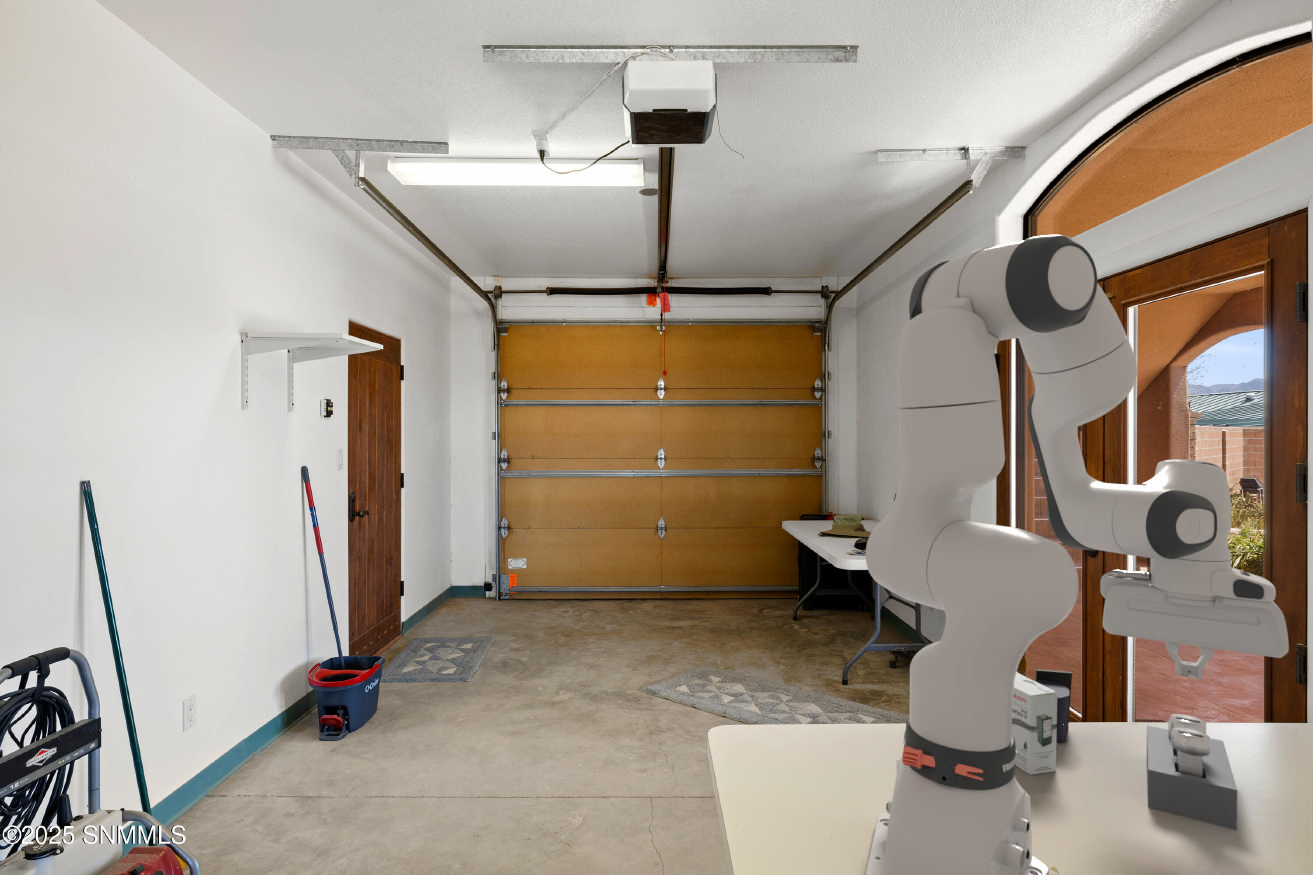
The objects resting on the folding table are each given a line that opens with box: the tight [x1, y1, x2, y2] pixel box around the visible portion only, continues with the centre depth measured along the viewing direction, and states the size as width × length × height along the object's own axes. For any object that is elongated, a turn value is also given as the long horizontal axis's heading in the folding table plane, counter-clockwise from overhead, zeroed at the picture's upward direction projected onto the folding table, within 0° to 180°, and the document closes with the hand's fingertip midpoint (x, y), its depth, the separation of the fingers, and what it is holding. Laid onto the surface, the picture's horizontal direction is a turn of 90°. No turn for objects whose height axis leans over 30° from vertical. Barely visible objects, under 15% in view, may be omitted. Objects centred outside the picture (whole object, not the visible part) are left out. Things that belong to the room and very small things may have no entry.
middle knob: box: [1169, 713, 1207, 757], centre depth 95 cm, size 4×4×5 cm
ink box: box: [1012, 672, 1057, 775], centre depth 104 cm, size 9×5×12 cm, turn 14°
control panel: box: [1146, 725, 1238, 831], centre depth 95 cm, size 17×9×5 cm, turn 145°
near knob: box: [1171, 728, 1211, 778], centre depth 90 cm, size 4×4×5 cm
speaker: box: [1034, 669, 1073, 745], centre depth 112 cm, size 8×6×10 cm
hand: (1188, 676), depth 95 cm, fingers closed
